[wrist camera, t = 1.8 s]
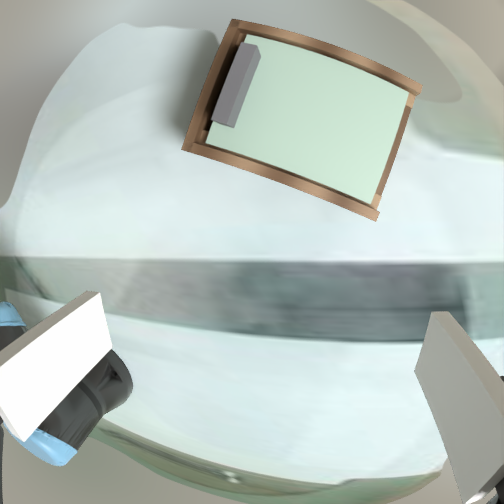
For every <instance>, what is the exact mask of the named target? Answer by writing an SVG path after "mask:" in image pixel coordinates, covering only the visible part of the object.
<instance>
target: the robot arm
mask: <svg viewBox="0 0 504 504" xmlns="http://www.w3.org/2000/svg"><path fill="white" fill-rule="evenodd" d="M111 348H112V343H111V339H110V335H109V331H108V327H107V323H106V319H105V314H104V310H103V305H102V301H101V296H100V293H99V292H92V291H86V292H84V293H83V294H81V295H80V296H78V297H77V298H75V299H74V300H72V301H71V302H69V303H68V304H66V305H65V306H63V307H62V308H60V309H59V310H57V311H56V312H54V313H53V314H51V315H50V316H49V317H47V318H46V319H44V320H43V321H41V322H40V323H39V324H37V325H36V326H34V327H33V328H31V329H30V330H29V331H28V330H27V328H26V324H25V323H24V322H23V321H22V319H21V317H20V315H19V314H18V312H17V310H16V308H15V307H14V306H13V305H12V304H11V303H9V302H0V504H3V499H2V451H3V436H4V432H3V428H2V427H1V423H3V424H4V425H5V427H6V428H7V430H8V432H9V433H10V434H11V435H12V436H13V437H14V438H15V439H16V440H17V441H18V442H19V443H20V444H21V445H22V446H24V447H25V448H26V449H27V450H29V451H30V452H31V453H33V454H34V455H35V456H37V457H38V458H40V459H42V460H43V461H46V462H47V463H49V464H52V465H55V466H63V465H65V464H67V462H68V461H69V460H70V459H71V458H72V457H73V456H74V455H75V454H76V453H77V452H78V449H79V448H80V446H81V445H82V444H83V442H84V441H85V440H86V438H87V437H88V435H89V434H90V433H91V431H92V430H93V428H94V427H95V426H96V424H97V423H98V421H99V420H100V419H101V418H102V416H103V415H104V414H106V413H108V412H110V411H111V410H113V409H115V408H117V407H118V406H120V405H122V404H123V403H124V402H125V401H126V400H127V399H128V397H129V396H130V394H131V393H132V389H133V383H132V379H131V376H130V373H129V371H128V369H127V368H126V366H125V365H124V363H123V362H122V360H121V359H120V358H119V357H118V356H117V355H116V354H115V353H114V352H113V351H112V350H111ZM414 372H415V374H416V376H417V378H418V381H419V383H420V385H421V388H422V390H423V392H424V395H425V397H426V399H427V402H428V404H429V407H430V409H431V412H432V414H433V417H434V419H435V422H436V424H437V427H438V430H439V432H440V435H441V438H442V440H443V443H444V446H445V449H446V452H447V455H448V457H449V460H450V463H451V466H452V470H453V472H454V476H455V479H456V482H457V485H458V489H459V492H460V496H461V500H462V503H463V504H469V503H472V502H474V501H477V500H479V499H482V498H484V497H485V496H486V495H487V494H488V493H489V492H490V491H491V490H492V489H493V488H494V487H495V488H496V491H497V494H496V495H495V496H494V497H493V498H492V499H491V500H490V501H489V502H488V503H487V504H504V376H499V375H498V374H497V372H496V371H495V369H494V368H493V367H492V365H491V364H490V363H489V361H488V360H487V359H486V357H485V356H484V355H483V353H482V352H481V351H480V350H479V348H478V347H477V346H476V344H475V343H474V342H473V341H472V339H471V338H470V337H469V336H468V335H467V333H466V332H465V331H464V330H463V328H462V327H461V326H460V325H459V324H458V322H457V321H456V320H455V319H454V318H453V317H452V315H451V314H450V313H449V312H448V311H446V312H431V316H430V320H429V324H428V328H427V332H426V335H425V339H424V342H423V345H422V349H421V352H420V355H419V358H418V361H417V364H416V367H415V370H414Z"/></svg>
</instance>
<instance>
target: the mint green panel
mask: <svg viewBox="0 0 504 504" xmlns="http://www.w3.org/2000/svg"><path fill="white" fill-rule="evenodd" d="M408 95H409V92H407V91H405V90H403V89H401V88H399V87H397V86H395V85H393V84H391V83H389V82H387V81H385V80H383V79H381V78H379V77H376V76H374V75H372V74H370V73H367V72H365V71H363V70H360V69H358V68H356V67H353V66H351V65H348V64H345V63H343V62H340V61H338V60H335V59H332V58H329V57H327V56H324V55H321V54H318V53H315V52H312V51H309V50H306V49H302V48H299V47H296V46H292V45H289V44H285V43H282V42H278V41H274V40H270V39H266V38H262V37H257V36H253V35H248V34H247V36H246V38H245V41H244V42H241V44H240V46H239V49H238V51H237V53H236V56H235V58H234V61H233V63H232V66H231V68H230V71H229V73H228V76H227V78H226V81H225V83H224V86H223V88H222V91H221V94H220V96H219V99H218V102H217V105H216V107H215V110H214V113H213V116H212V118H211V120H213V123H212V126H211V128H210V131H209V134H208V137H207V140H206V143H207V144H211V145H214V146H217V147H220V148H223V149H227V150H230V151H233V152H236V153H239V154H242V155H245V156H248V157H251V158H254V159H257V160H260V161H263V162H265V163H268V164H271V165H274V166H277V167H279V168H282V169H285V170H288V171H290V172H293V173H296V174H298V175H301V176H303V177H306V178H309V179H311V180H314V181H316V182H319V183H321V184H324V185H326V186H329V187H331V188H334V189H336V190H338V191H341V192H343V193H346V194H348V195H350V196H353V197H355V198H357V199H359V200H362V201H364V202H366V203H368V204H371V202H372V200H373V197H374V194H375V192H376V189H377V187H378V184H379V181H380V179H381V176H382V173H383V171H384V168H385V165H386V162H387V160H388V157H389V154H390V151H391V148H392V145H393V142H394V139H395V136H396V133H397V130H398V127H399V124H400V121H401V118H402V115H403V111H404V108H405V105H406V101H407V98H408Z"/></svg>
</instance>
